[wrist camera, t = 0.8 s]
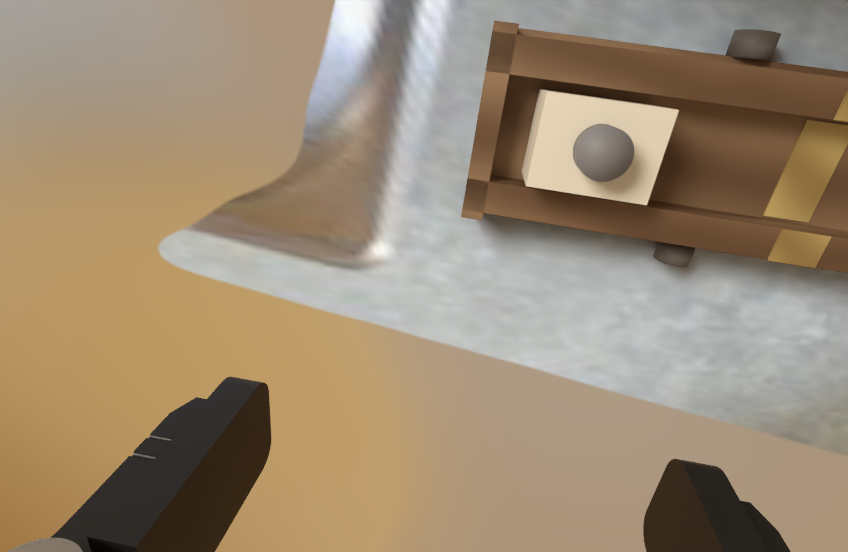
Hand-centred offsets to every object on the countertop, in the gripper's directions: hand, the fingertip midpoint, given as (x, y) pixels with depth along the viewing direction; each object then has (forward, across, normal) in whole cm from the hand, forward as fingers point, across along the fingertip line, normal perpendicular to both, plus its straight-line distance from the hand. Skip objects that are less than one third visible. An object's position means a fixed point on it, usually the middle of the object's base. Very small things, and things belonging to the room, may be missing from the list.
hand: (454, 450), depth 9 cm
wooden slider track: (+22, -12, -4) cm, 26 cm away
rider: (+21, -5, -4) cm, 22 cm away
